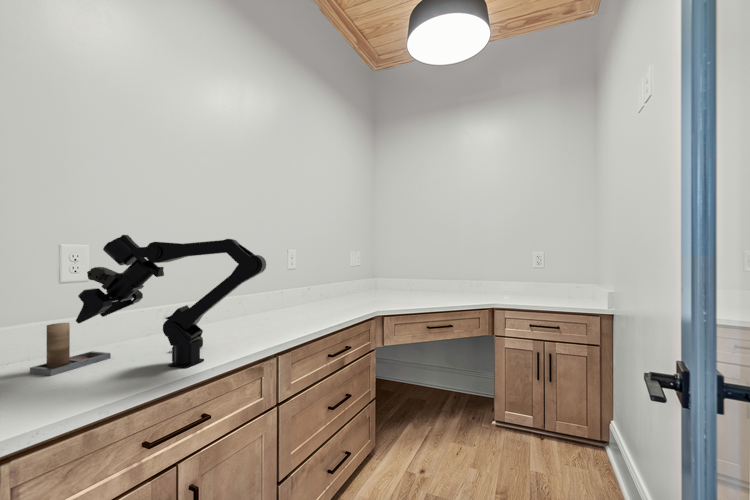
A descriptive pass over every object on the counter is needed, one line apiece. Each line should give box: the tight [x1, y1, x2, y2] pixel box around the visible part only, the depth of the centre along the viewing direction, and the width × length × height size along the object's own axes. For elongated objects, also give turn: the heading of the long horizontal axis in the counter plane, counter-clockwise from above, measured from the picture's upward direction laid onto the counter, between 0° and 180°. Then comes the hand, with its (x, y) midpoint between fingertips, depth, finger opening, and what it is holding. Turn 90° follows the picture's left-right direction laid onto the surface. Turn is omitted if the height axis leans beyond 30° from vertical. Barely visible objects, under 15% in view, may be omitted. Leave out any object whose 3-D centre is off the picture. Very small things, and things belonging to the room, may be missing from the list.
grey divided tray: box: [29, 350, 112, 377], centre depth 94 cm, size 8×15×2 cm, turn 165°
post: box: [46, 322, 71, 368], centre depth 91 cm, size 4×4×12 cm
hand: (90, 318), depth 92 cm, fingers open, 9 cm apart
